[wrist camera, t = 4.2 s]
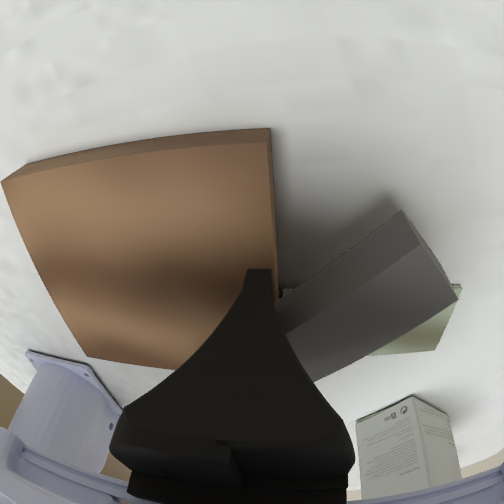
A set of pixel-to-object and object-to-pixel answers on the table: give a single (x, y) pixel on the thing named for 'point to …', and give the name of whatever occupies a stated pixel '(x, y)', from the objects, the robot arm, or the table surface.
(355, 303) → the gray rectangular bar
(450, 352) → the table surface
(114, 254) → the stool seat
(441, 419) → the skincare box
